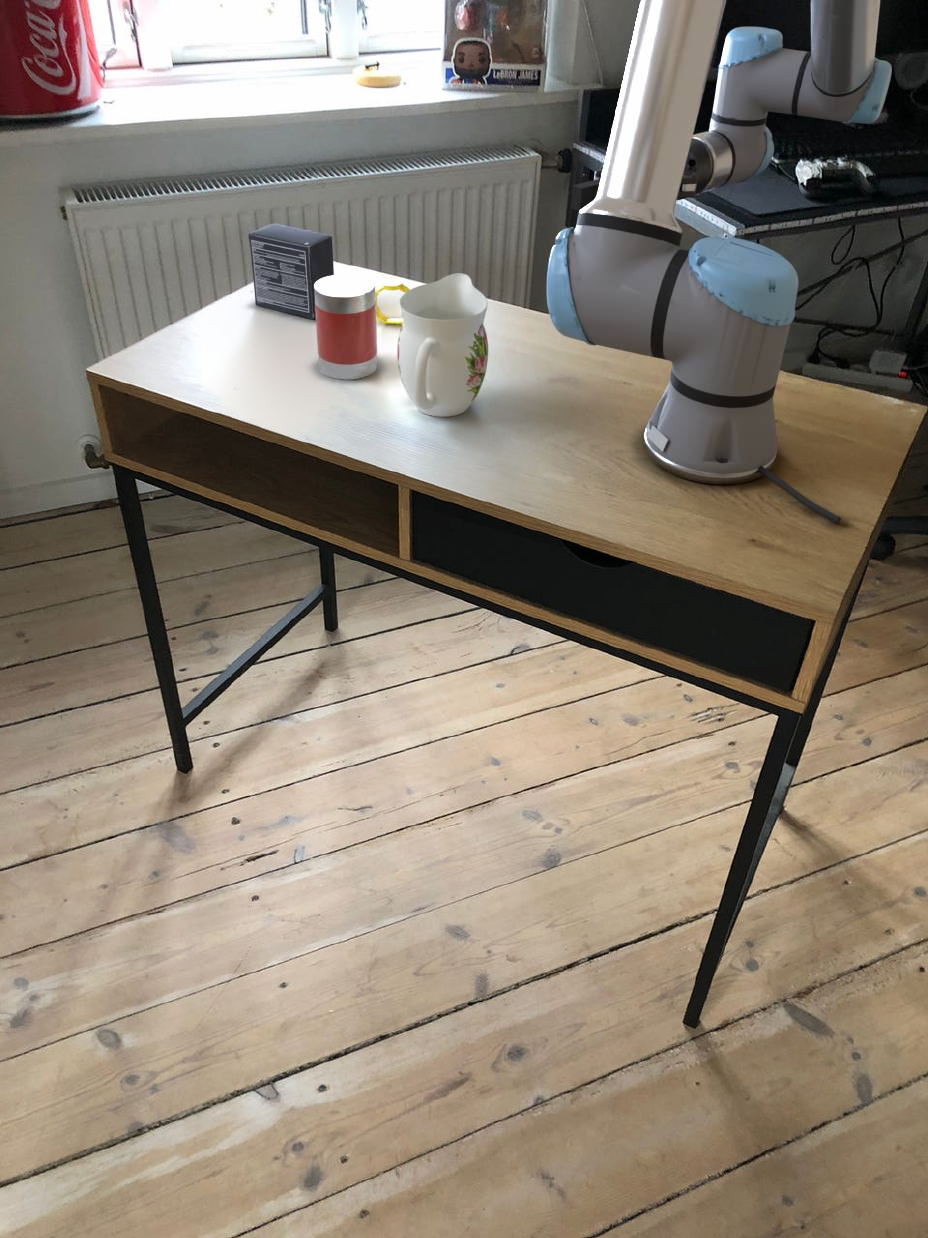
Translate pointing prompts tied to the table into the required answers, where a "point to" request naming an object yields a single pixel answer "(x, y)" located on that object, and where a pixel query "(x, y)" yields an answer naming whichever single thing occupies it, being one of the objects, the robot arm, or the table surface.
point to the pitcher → (443, 345)
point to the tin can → (346, 326)
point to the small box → (289, 267)
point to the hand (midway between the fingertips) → (576, 198)
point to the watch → (390, 285)
